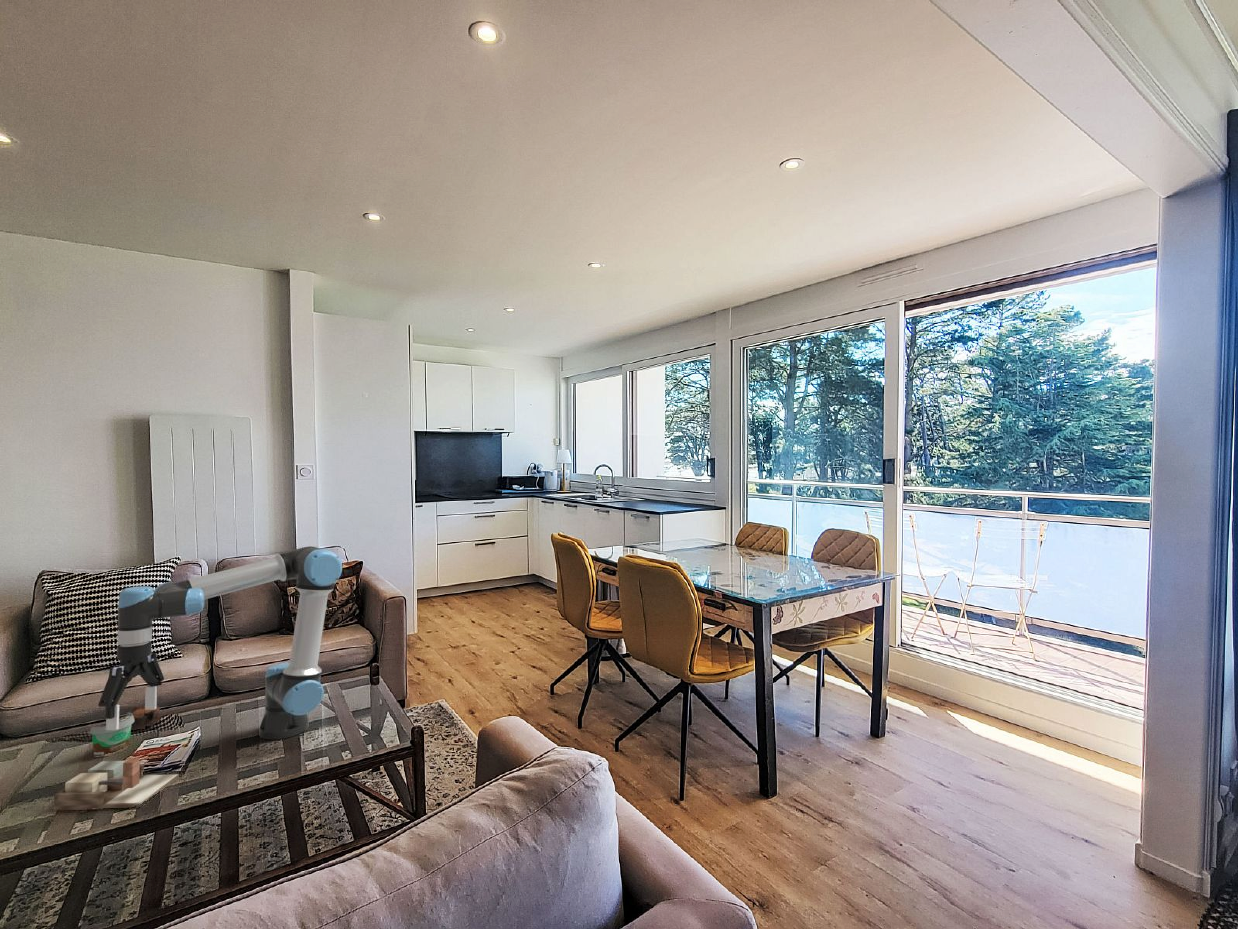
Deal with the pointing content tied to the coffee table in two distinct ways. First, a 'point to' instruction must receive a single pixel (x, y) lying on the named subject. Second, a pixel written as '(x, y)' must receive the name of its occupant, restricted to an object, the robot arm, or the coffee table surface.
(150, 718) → the pottery mug
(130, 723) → the food container
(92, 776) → the pull block
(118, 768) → the lane rack
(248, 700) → the coffee table surface
